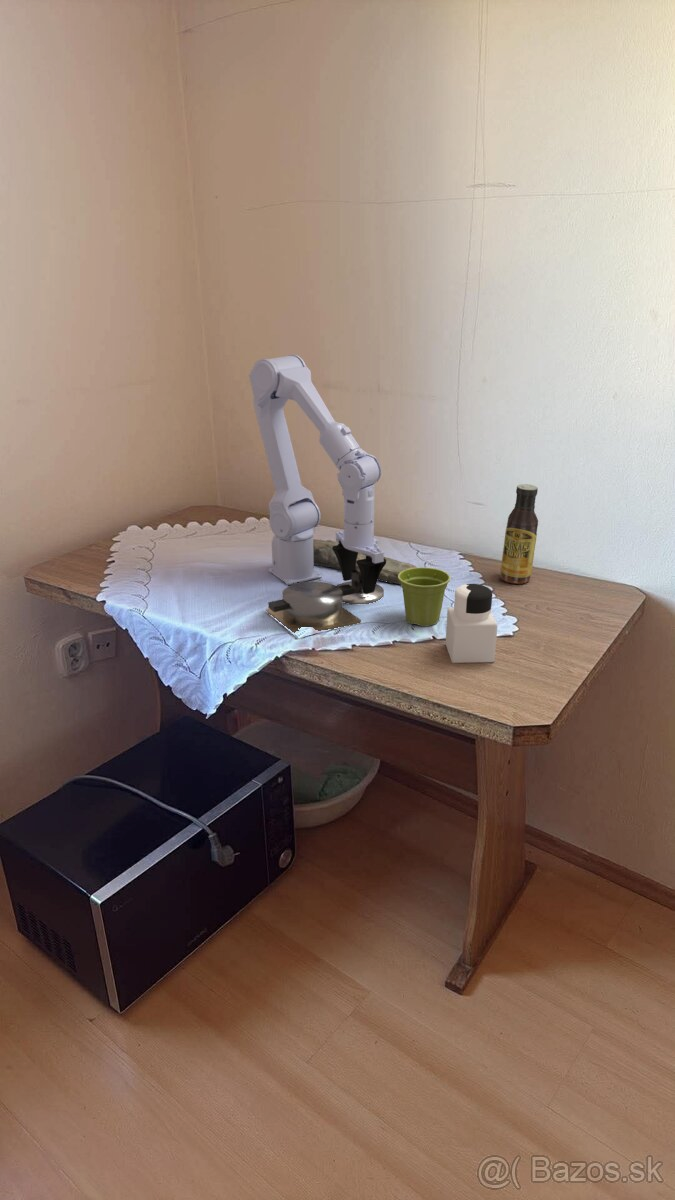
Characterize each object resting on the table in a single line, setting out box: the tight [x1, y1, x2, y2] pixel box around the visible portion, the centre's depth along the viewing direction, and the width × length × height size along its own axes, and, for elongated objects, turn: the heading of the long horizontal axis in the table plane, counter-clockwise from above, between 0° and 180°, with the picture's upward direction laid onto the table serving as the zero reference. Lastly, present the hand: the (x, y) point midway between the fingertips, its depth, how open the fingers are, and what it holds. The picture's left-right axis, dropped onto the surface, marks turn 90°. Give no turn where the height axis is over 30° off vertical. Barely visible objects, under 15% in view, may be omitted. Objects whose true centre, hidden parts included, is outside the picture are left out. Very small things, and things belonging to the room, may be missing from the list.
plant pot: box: [398, 566, 451, 627], centre depth 146 cm, size 9×9×9 cm
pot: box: [265, 580, 362, 633], centre depth 148 cm, size 13×17×5 cm
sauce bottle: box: [500, 483, 539, 585], centre depth 161 cm, size 6×6×20 cm
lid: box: [336, 569, 385, 605], centre depth 158 cm, size 10×10×5 cm
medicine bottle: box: [445, 583, 498, 664], centre depth 133 cm, size 7×7×12 cm
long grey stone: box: [313, 538, 417, 585], centre depth 172 cm, size 35×5×10 cm
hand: (358, 586), depth 158 cm, fingers open, 7 cm apart
